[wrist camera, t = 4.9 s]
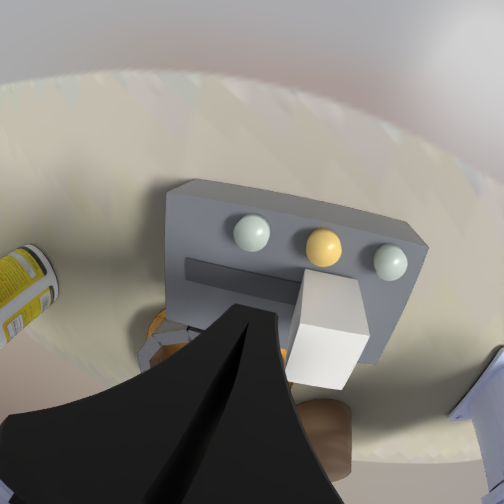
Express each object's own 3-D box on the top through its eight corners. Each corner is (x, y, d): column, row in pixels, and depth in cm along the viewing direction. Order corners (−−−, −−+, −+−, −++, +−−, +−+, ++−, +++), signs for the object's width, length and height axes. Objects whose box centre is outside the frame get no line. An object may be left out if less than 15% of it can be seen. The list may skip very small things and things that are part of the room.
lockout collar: (313, 323, 15) (312, 352, 13) (277, 419, 19) (272, 443, 17) (143, 282, 16) (123, 302, 14) (155, 385, 20) (143, 405, 18)
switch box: (406, 222, 12) (434, 254, 9) (368, 326, 14) (376, 373, 11) (196, 178, 13) (158, 196, 10) (189, 287, 16) (160, 326, 12)
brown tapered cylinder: (360, 402, 17) (362, 462, 12) (338, 432, 19) (336, 485, 14) (299, 393, 18) (290, 456, 13) (285, 425, 19) (275, 478, 15)
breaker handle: (357, 279, 10) (369, 336, 7) (339, 330, 11) (341, 390, 8) (305, 269, 10) (300, 323, 7) (291, 320, 11) (281, 380, 8)
